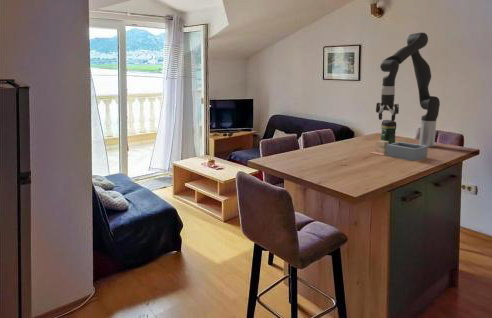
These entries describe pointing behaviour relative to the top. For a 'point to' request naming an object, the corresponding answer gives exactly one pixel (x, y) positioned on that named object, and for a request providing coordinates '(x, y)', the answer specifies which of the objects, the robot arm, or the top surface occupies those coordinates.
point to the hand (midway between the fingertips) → (386, 120)
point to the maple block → (382, 146)
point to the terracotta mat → (378, 153)
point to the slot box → (407, 151)
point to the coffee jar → (388, 131)
